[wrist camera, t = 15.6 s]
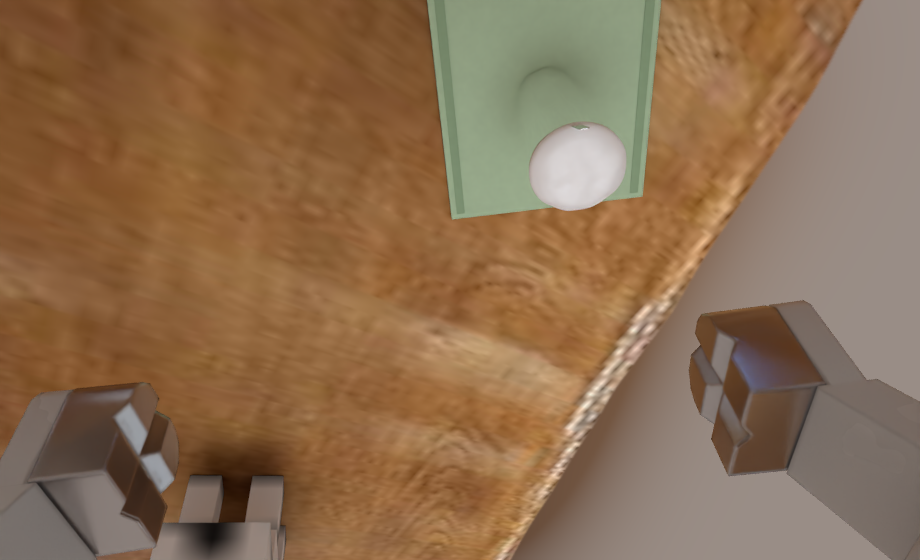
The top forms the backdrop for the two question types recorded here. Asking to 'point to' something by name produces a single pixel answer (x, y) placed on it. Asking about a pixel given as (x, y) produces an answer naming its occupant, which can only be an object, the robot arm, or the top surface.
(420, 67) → the top surface
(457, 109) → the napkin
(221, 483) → the toy llama
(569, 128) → the milkshake
